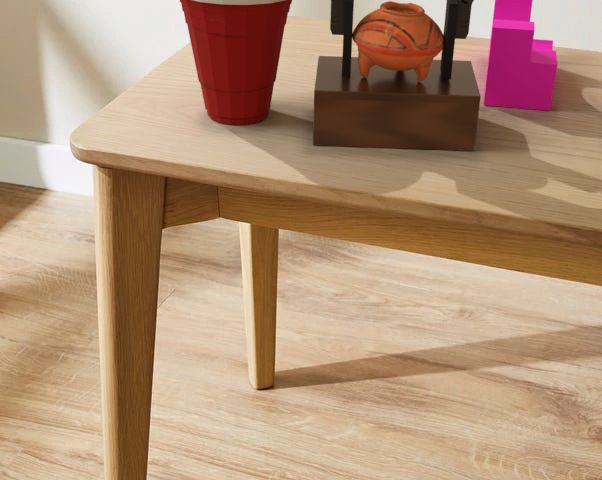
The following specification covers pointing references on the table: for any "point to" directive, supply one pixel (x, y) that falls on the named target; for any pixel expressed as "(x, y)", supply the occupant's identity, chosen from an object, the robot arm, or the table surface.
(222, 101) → the plastic cup
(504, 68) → the toy block
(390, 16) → the pot
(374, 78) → the block
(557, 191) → the table surface
